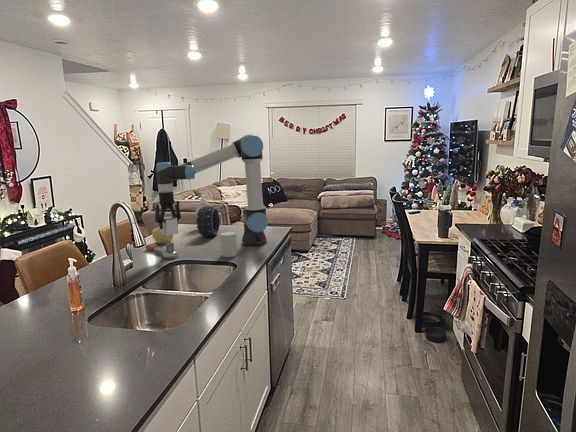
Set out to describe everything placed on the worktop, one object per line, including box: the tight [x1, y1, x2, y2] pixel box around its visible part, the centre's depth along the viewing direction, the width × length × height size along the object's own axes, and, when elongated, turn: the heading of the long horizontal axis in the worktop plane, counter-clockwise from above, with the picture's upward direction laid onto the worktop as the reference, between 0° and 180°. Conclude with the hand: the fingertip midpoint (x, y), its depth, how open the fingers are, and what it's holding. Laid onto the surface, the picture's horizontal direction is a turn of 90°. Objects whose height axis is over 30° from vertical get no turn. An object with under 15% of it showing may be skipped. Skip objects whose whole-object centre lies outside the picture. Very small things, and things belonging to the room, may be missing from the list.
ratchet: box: [145, 241, 179, 260], centre depth 220 cm, size 30×8×8 cm, turn 45°
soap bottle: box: [195, 194, 212, 217], centre depth 281 cm, size 13×8×24 cm, turn 83°
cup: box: [220, 231, 238, 258], centre depth 212 cm, size 8×8×12 cm
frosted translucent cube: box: [163, 215, 179, 236], centre depth 210 cm, size 7×7×9 cm
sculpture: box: [151, 226, 174, 245], centre depth 245 cm, size 12×12×11 cm
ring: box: [195, 205, 221, 237], centre depth 257 cm, size 11×20×20 cm, turn 174°
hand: (169, 233), depth 211 cm, fingers closed on frosted translucent cube, 7 cm apart
